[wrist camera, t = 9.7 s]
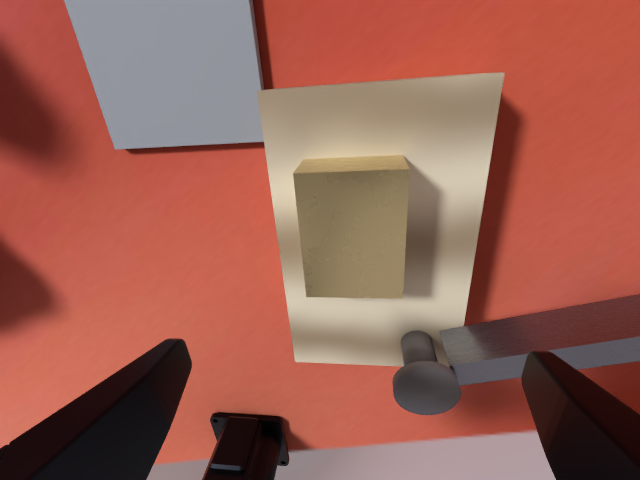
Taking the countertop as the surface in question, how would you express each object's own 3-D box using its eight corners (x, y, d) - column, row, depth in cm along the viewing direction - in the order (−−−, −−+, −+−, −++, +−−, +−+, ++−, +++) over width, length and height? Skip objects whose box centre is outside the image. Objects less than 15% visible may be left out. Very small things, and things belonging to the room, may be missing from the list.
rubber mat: (270, 139, 18) (267, 141, 17) (121, 147, 19) (115, 149, 19) (242, -79, 14) (237, -85, 13) (56, -51, 15) (45, -55, 15)
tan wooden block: (397, 269, 17) (402, 298, 15) (313, 269, 18) (306, 297, 16) (402, 154, 14) (409, 169, 12) (303, 159, 15) (292, 173, 13)
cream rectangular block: (445, 333, 22) (474, 423, 17) (302, 329, 24) (283, 411, 18) (480, 73, 15) (550, 71, 10) (273, 88, 17) (226, 95, 11)
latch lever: (444, 353, 19) (459, 403, 16) (438, 327, 18) (452, 375, 15) (790, 296, 15) (893, 349, 12) (800, 260, 14) (912, 308, 11)
